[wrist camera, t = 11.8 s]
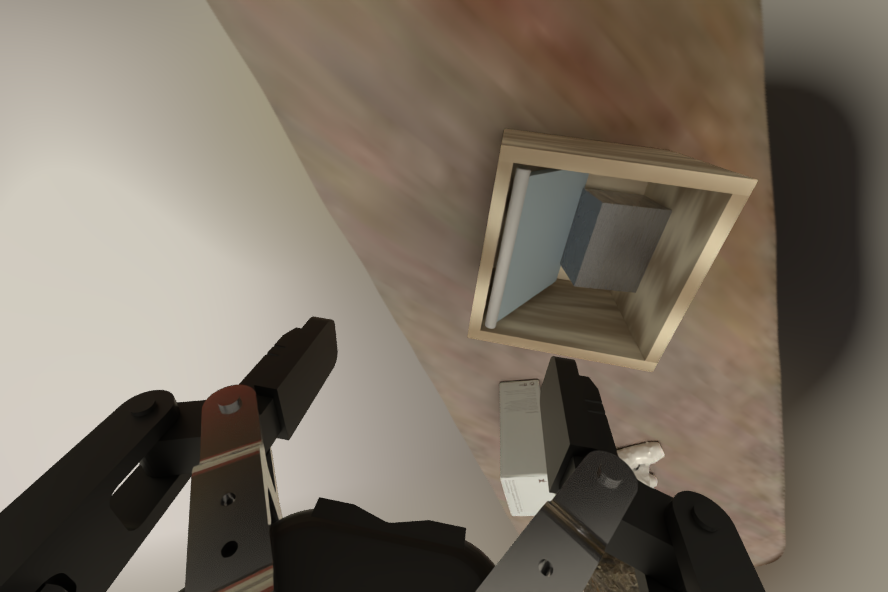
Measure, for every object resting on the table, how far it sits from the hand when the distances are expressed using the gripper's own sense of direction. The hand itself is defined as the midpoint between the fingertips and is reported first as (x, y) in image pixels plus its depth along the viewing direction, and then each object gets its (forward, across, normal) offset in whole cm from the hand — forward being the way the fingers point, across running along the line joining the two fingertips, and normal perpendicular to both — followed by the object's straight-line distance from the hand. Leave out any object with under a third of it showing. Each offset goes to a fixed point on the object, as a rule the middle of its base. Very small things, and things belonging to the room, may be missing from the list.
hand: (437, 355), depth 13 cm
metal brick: (+23, -10, +3) cm, 25 cm away
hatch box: (+29, -9, +3) cm, 31 cm away
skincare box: (+29, -11, +31) cm, 44 cm away
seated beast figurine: (+28, -28, +40) cm, 56 cm away
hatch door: (+21, -6, +3) cm, 22 cm away
